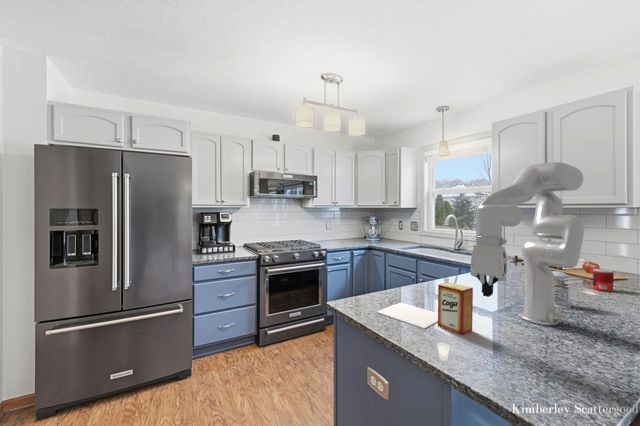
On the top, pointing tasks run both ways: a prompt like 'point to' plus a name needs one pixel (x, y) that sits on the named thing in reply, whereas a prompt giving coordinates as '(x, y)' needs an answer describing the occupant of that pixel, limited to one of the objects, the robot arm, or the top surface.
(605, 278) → the canned food
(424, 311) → the mat
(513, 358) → the top surface
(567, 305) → the french press
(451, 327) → the baking soda box
